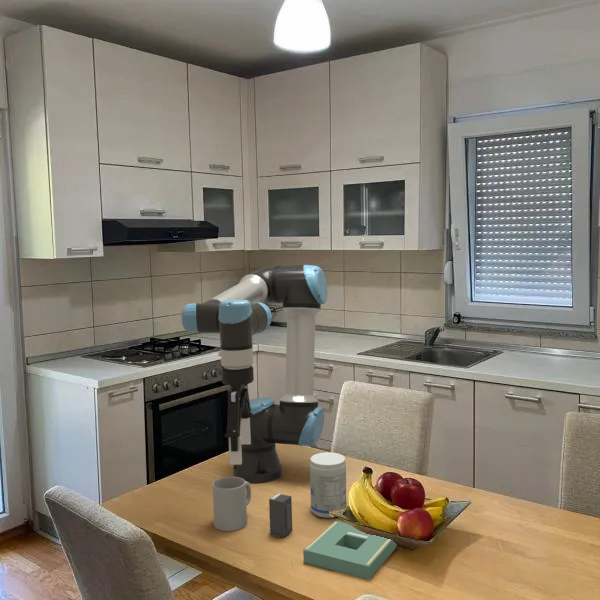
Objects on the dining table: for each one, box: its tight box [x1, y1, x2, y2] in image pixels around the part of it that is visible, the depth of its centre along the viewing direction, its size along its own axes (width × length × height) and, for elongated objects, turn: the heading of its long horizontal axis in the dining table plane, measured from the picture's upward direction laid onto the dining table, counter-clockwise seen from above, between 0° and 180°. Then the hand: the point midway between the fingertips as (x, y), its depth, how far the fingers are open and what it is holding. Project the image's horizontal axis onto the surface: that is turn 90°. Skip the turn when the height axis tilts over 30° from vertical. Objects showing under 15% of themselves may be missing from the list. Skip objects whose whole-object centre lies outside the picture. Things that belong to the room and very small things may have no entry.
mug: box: [211, 476, 252, 532], centre depth 163 cm, size 12×8×11 cm
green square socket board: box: [302, 520, 398, 581], centre depth 145 cm, size 16×16×3 cm
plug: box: [268, 493, 293, 539], centre depth 156 cm, size 4×4×9 cm
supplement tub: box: [309, 451, 347, 519], centre depth 167 cm, size 10×10×15 cm
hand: (240, 453), depth 151 cm, fingers open, 13 cm apart
